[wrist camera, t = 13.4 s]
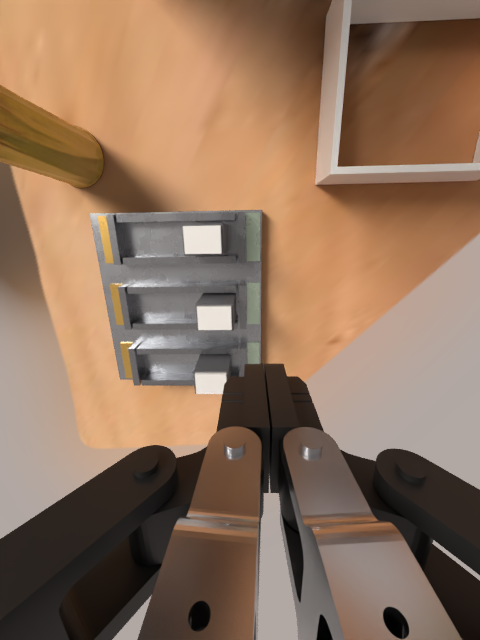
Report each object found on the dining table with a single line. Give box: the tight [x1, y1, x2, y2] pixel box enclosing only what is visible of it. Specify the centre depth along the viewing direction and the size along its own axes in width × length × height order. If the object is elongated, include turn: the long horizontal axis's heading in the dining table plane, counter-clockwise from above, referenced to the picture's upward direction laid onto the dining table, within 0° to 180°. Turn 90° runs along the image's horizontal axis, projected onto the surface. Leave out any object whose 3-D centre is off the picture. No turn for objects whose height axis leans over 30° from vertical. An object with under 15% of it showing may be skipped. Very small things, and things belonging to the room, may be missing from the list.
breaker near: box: [181, 223, 228, 256], centre depth 28 cm, size 3×4×6 cm
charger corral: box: [315, 0, 480, 185], centre depth 25 cm, size 15×18×6 cm
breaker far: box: [194, 354, 232, 394], centre depth 33 cm, size 3×4×6 cm
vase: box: [0, 85, 104, 188], centre depth 24 cm, size 6×6×14 cm
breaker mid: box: [195, 293, 236, 331], centre depth 31 cm, size 3×4×6 cm
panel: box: [90, 210, 262, 385], centre depth 34 cm, size 22×20×4 cm
